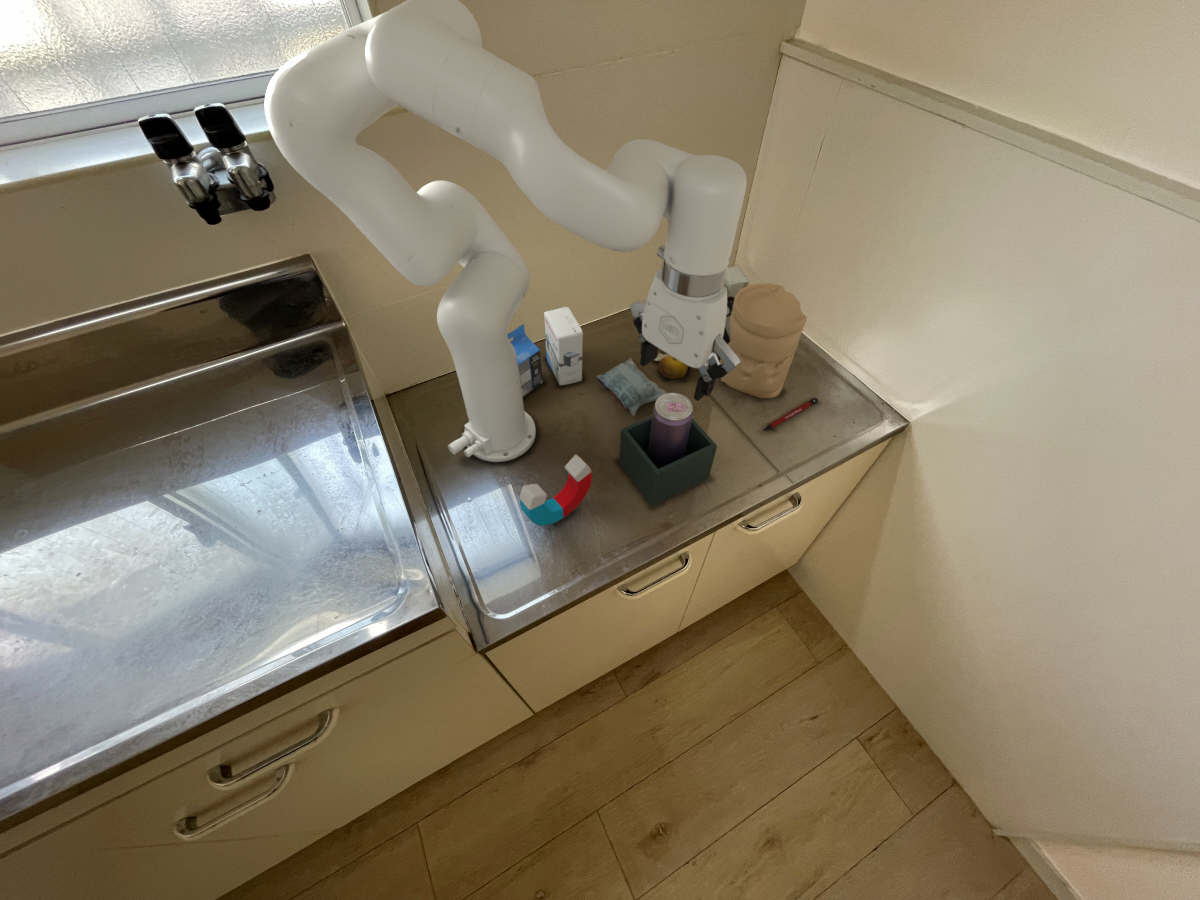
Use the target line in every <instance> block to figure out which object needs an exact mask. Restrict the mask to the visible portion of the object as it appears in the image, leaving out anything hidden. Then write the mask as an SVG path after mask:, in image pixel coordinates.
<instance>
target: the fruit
mask: <svg viewBox="0 0 1200 900" xmlns="http://www.w3.org/2000/svg"><path fill="white" fill-rule="evenodd" d="M653 361H655V362H658V367H657V369H658V372H659V375H660V376H661V377H662V378H664V379H665V380H674V379H680V378H682V379H683V378H684V377H685V376H686V375H687V373H688V370H689V366H688V365H686V364H684V363H683V362H681V361H679V360H678V359H676V358H674V357H672V356H671V355H669V354H668V353H662V352H661V351H658V355H657V358H655V359H654V360H653Z"/></svg>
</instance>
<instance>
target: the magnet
mask: <svg viewBox="0 0 1200 900" xmlns="http://www.w3.org/2000/svg"><path fill="white" fill-rule="evenodd" d="M564 469H565V470H566V471H567V480H566V482H565V484H564V486H563V487H562V489H561V490H560V491H559V492H558V493H557V494H556V495H554V496H553V497H551V498H550V499H547V496H548V494H547V493H546V492H545V491H544V489H542V488H541V486H540V485H539V484H538V483H530V484H524V485H523V486H522V488H521V491H520V494H519V506H520V509H521V511H522V512H523V513H524V515H526V517H527V518H528V519H529V520H530V521H531V522H532V524H534V525H536V526H543V527H544V526H548V525H551V524H554V523H557V522H559V521H561V520H562V519H564V518H565V517H567V516H568V515H569V514H571V513H572V512H573V511H574V510H575V509H577V507H578V506H579V505H580V504H581V502H582V501H583V500H584V499H585V497H586V495H587V494H588V492H589V490H590V488H591V486H592V482H593V473H592V469H591V467H590V466H589V465H588V464H587V463H586V461H584V460H583V459H582V458H581V457H580V456H579V455H578V454H574V455H573V457H571V459H570V460H569V461H568V462H567V463H566V465H564ZM546 499H547V500H546Z"/></svg>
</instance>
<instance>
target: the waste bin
mask: <svg viewBox="0 0 1200 900" xmlns="http://www.w3.org/2000/svg"><path fill="white" fill-rule="evenodd" d="M651 423H652V415H651V416H647V417H645V418H643V419H641V420H639V421H636V422H634V423H631V424H629V425H627V426H625V427H623V428H621V429H620V439H619V440H620V442H619V457H618V458H619V459H618V462H619V464H620V465H621V466H622V468H623V469H624V471H625V472H626V473H627V474H628V476H629V478H631V480H632V481H633V483H634V484H635V485H636V486H637V488H638V489H639V491H640V492H641V493H642V494H643V496H644V497H645V498H646V500H647V501H648V502H649V504H650V505H651V506H652V507H653V506H655V505H656V504H659V503H661V502H663V501H665V500H667V499H669V498H671V497H674V496H675V495H677V494H680V493H682V492H684V491H686V490H687V489H690V488H691V487H693V486H695V485H698V484H700V483H702V482H703V481H706V480H708V479H709V478H710V476H711V472H712V467H713V464H714V459H715V455H716V453H717V448H718V444H717V443H716V442H715V441H714V440H713V439H712V438H711V436H709V434H707V432H706V431H705V430H704V429H703V428H702V427H701V426H700V425H699V424H698V422H697V421H696V420H695V419H694V418H693V417H692V420H691V425H690V430H689V435H688V440H687V445H686V451H685V456H684V457H683V458H681V459H679V460H677V461H674V462H672V463H670V464H668V465H666V466H664V467H662V468H659V469H657V467H656V466H655V465H654V464H653V462H652V461H651V460H650V459H649V457H648V448H649V440H650V431H651Z"/></svg>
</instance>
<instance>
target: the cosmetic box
mask: <svg viewBox="0 0 1200 900" xmlns="http://www.w3.org/2000/svg"><path fill="white" fill-rule="evenodd" d="M749 285H750V280H749V279H748V277H747V275H746V274H745V273H744V272H743V271H742V269H741V268H740V267H739V265H735V266H734V265H731V266H728V269H727V273H726V277H725V282H724V287H726V288H727V297H730V296H731V297H734V298H735V297H736V295H737V293H738V292H739V291H740V290H741V289H742V288H744V287H746V286H749ZM727 303H728V302H727Z"/></svg>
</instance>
